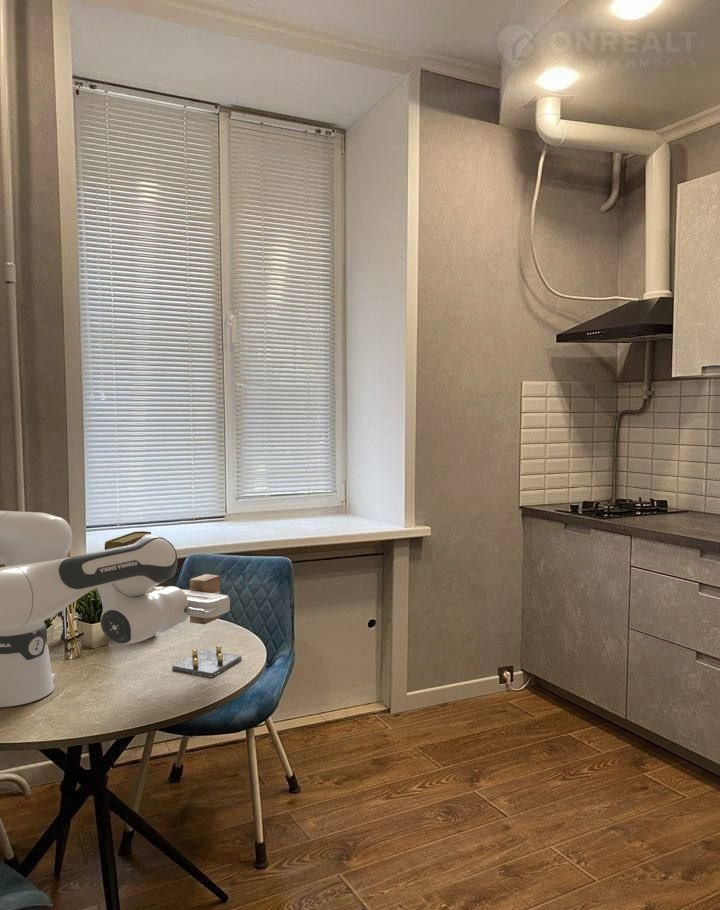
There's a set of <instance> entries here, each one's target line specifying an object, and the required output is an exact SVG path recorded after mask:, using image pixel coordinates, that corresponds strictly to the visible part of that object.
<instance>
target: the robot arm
mask: <svg viewBox="0 0 720 910" xmlns="http://www.w3.org/2000/svg"><path fill="white" fill-rule="evenodd" d="M72 545H73V532H72V528H71V525H70V524H69V523H68V521H67V520H66V519H65V518H63V517H59V516H56V515H52V514H49V513H46V512H36V511H15V510H14V511H13V510H0V565H4V566H1V567H0V708H7V707H15V706H20V705H21V706H22V705H25V704H29V703H32V702H35V701H38V700H40V699H43V698H45V697H46V696H48V695H50V694H51V693H52V692H54V689H55V684H54V681H55V679H56V676H55V673H54V672H52V666H51V665H52V664H51V657H50V656H51V655H50V650H49V649H50V648H49V646H48V644H47V641H48V629H47V624H46V623H45V621H46V620H49V619H51V618H52V617H54V616H56V615H57V613H59V612H60V611H62V610H63V609H65V608H66V607H68V606H69V605H70V604H72V603H73V602H75V601H76V600H78V599H79V598H81V597H82V596H86V595H87V594H88V593H91V592H92V591H96V594H97V595H98V597H99V600H100V602H101V605H102V606H101V607H102V613H101V616H100V627H101V631H102V633H103V634H104V636H105V637H106V638H107V639H108V640H109V641H111V642H113V643H115V644H118V645H131V644H135V643H138V642H141V641H142V642H143V641H145V640H147V639H151V638H153V637H154V636H155V635H157V634H158V633H164V632H167V631H170V630H172V629H174V628H177V627H179V626H181V625H183V624H184V623H185V622H186V621H187V619H188V617H190V616H195V617H201V618H210V617H215V616H218V615H220V616H221V615H225V614H226V613H229V612H230V609H231V608H230V607H231V600H230V597H229V595H226V594H221V592H220V593H219V592H216V591H213V592H210V593H206V592H198V591H191V590H190V589H183V588H179V587H177V586H173V585H168V586H158V585H160V584H162V583H164V582H166V581H168V580H170V579H171V578H173V577H174V576H175V574H176V571H177V567H178V555H177V554H178V553H177V550H176V548H175V546H174V545H173V544H172V543H171V542H170V541H169V540H168V539H167V538H164V537H163V536H161V535H156V534H152V533H151V534H147V535H145V536H143V537H142V538H140V539H139V540H138V541H137V542H136V543H134V544H132V545H128V546H123V547H118V548H113V549H108V550H105V549H104V550H99V551H98V550H97V551H93V552H89V553H84V554H80V555H75V556H70V557H67V555H68V554H69V553H70V551H71V548H72ZM152 636H153V637H152ZM150 637H151V638H150Z"/></svg>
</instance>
